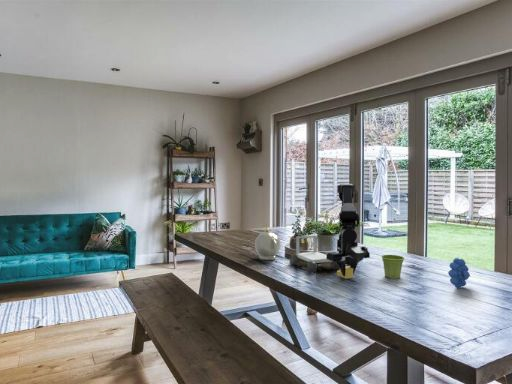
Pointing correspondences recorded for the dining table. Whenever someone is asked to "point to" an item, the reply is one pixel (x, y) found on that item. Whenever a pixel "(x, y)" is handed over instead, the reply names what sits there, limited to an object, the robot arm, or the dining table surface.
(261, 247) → the teapot
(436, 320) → the dining table surface
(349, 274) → the yellow step block
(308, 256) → the trolley
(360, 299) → the dining table surface
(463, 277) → the grapes
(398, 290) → the dining table surface
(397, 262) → the plant pot
